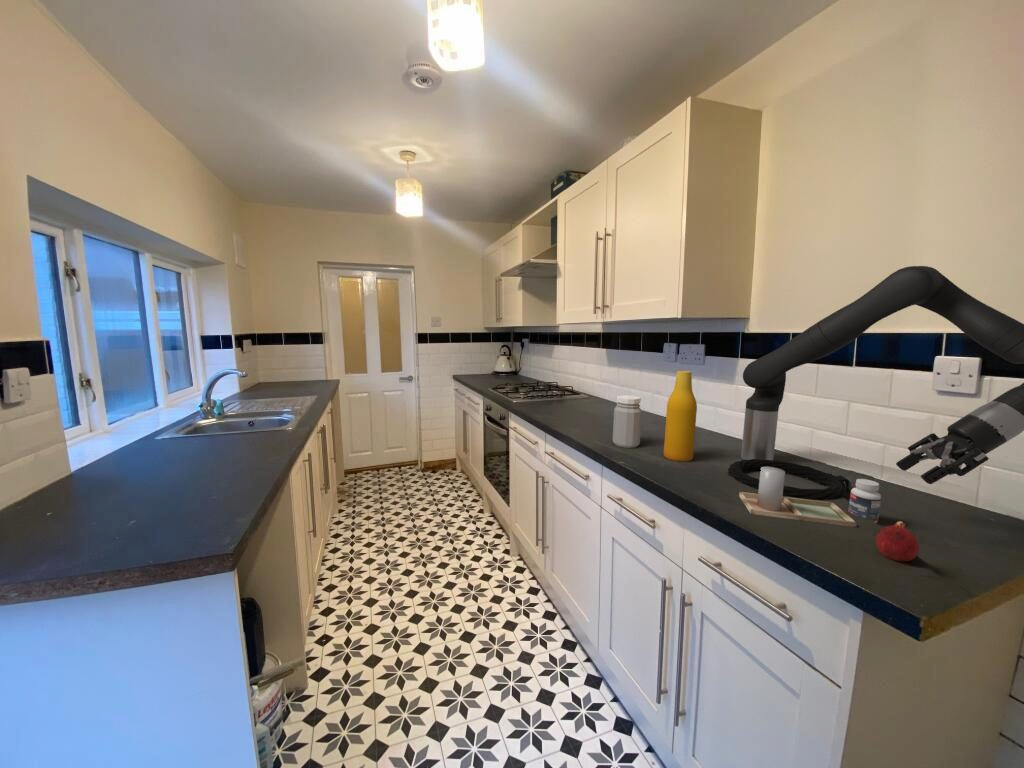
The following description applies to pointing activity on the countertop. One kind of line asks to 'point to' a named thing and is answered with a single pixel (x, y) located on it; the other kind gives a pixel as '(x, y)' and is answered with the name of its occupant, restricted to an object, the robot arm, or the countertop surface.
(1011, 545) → the countertop surface
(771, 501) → the grey tube
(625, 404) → the jar
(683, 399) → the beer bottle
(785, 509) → the divided tray
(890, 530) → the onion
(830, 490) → the cable lock
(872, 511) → the pill bottle
